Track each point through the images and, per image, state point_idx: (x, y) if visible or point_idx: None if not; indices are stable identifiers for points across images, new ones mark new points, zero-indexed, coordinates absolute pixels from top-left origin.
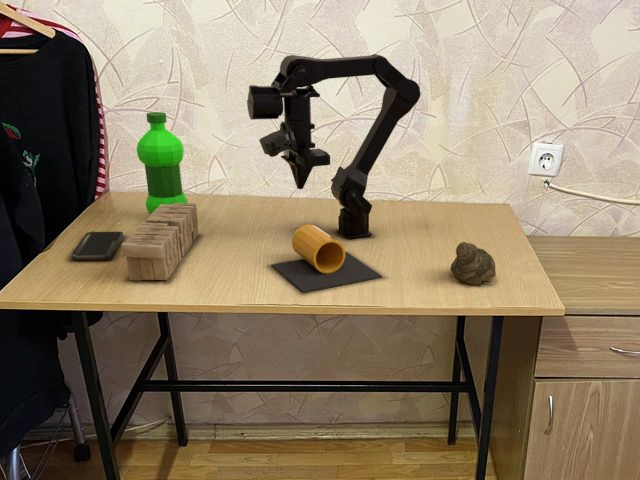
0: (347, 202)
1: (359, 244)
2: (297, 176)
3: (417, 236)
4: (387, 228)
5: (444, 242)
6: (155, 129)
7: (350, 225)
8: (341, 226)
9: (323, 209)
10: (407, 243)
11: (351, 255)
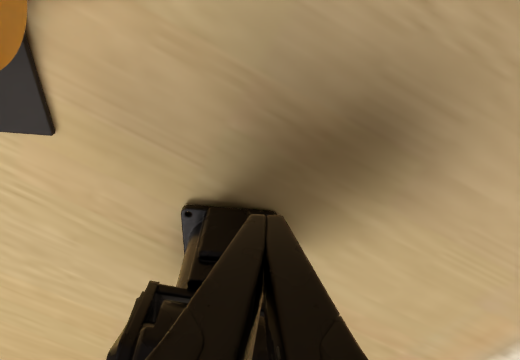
0: (133, 320)
1: (131, 207)
2: (196, 305)
3: None
4: None
5: (84, 348)
6: None
7: (194, 248)
8: (220, 226)
9: (499, 277)
10: (100, 297)
11: (5, 131)
